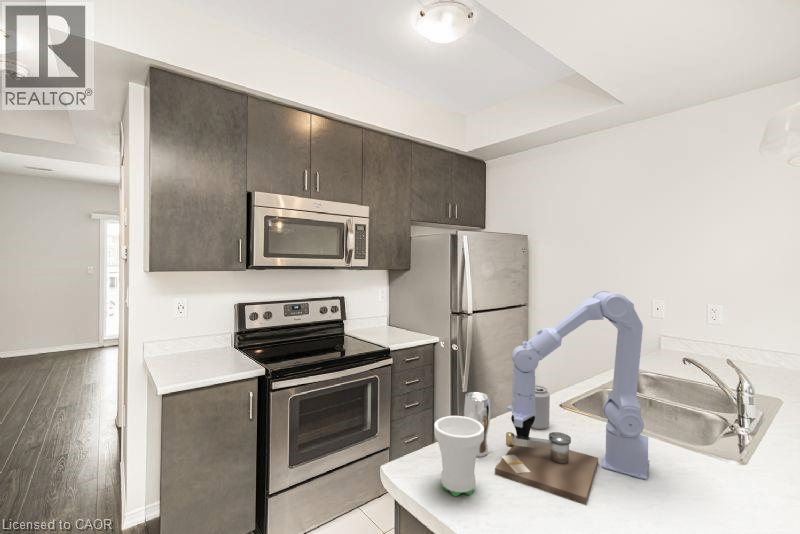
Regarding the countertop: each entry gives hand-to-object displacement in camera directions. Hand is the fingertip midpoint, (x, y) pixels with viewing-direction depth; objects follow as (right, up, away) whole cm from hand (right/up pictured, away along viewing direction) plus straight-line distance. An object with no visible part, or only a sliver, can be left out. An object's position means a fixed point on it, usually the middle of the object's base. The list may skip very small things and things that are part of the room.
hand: (522, 443), depth 100 cm
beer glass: (-11, -4, +3) cm, 12 cm away
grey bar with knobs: (+3, -2, -3) cm, 4 cm away
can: (+11, -3, +19) cm, 22 cm away
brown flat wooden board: (+5, -4, -6) cm, 8 cm away
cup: (-19, -4, -14) cm, 24 cm away
